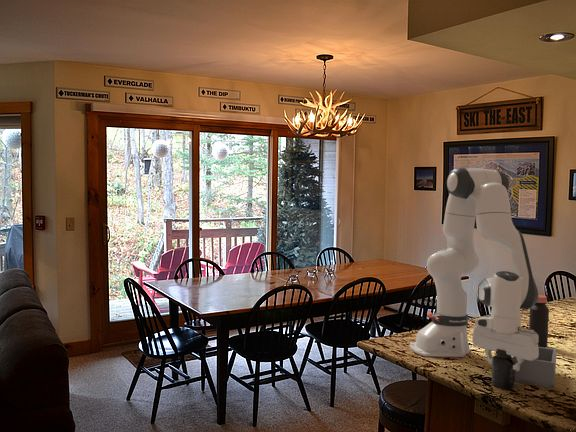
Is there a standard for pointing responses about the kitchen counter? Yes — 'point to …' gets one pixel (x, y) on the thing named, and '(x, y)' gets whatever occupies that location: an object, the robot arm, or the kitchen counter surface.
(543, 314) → the vinegar
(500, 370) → the supplement bottle
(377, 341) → the kitchen counter surface
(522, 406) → the kitchen counter surface
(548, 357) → the walled bin
